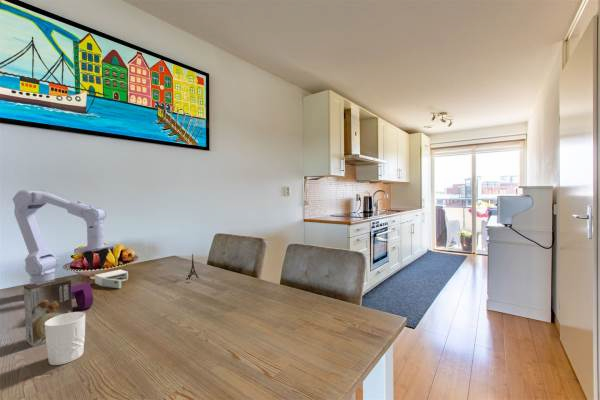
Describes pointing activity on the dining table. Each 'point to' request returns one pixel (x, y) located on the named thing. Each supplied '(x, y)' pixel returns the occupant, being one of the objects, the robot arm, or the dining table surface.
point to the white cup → (65, 337)
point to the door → (111, 283)
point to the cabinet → (111, 276)
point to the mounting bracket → (82, 295)
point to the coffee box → (45, 306)
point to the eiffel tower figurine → (191, 270)
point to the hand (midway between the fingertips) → (96, 267)
